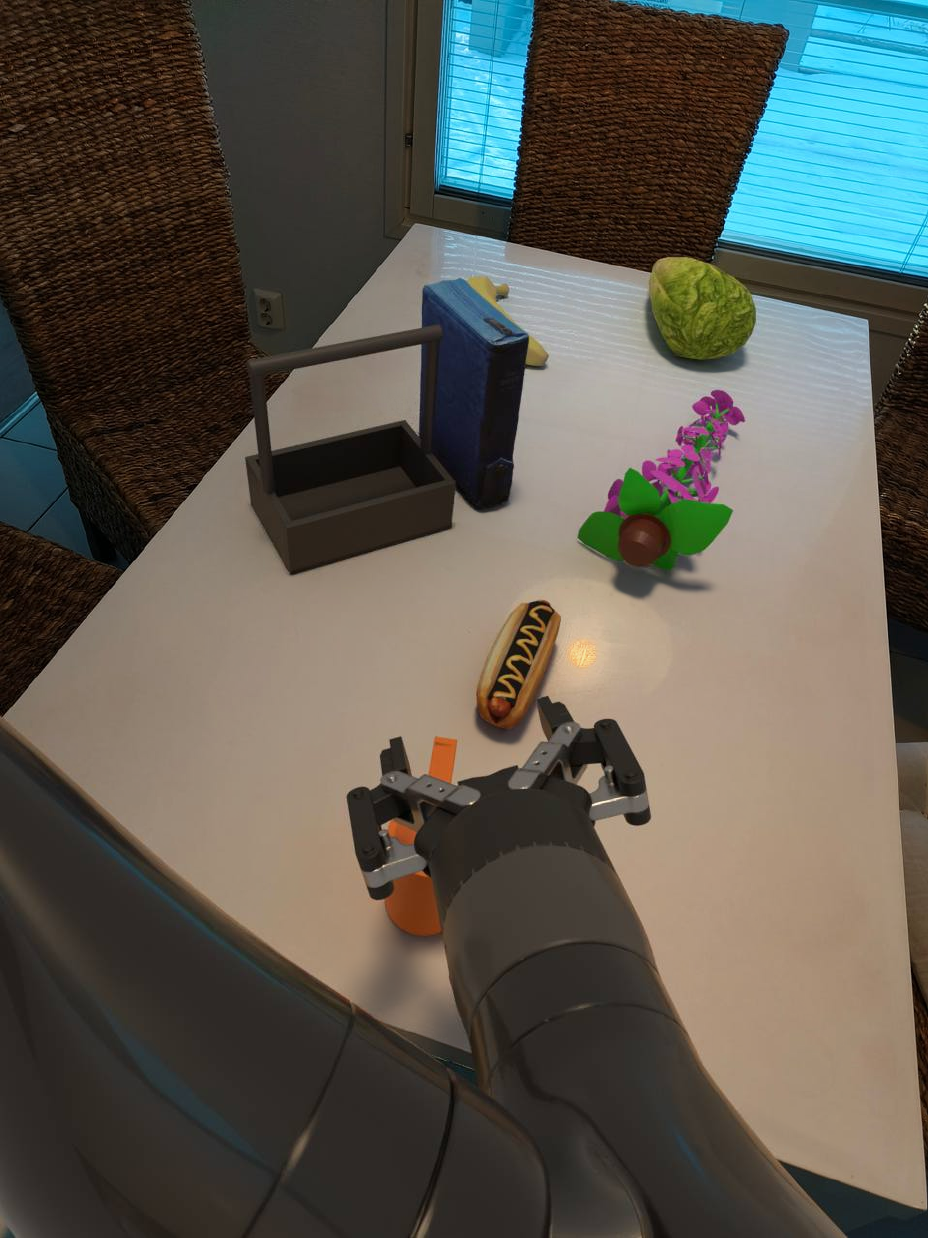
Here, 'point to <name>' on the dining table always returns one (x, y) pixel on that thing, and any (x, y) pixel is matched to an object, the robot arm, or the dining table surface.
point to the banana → (489, 292)
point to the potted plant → (667, 498)
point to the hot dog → (517, 663)
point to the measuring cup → (415, 892)
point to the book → (474, 389)
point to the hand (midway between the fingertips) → (471, 731)
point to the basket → (349, 469)
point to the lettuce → (700, 308)
